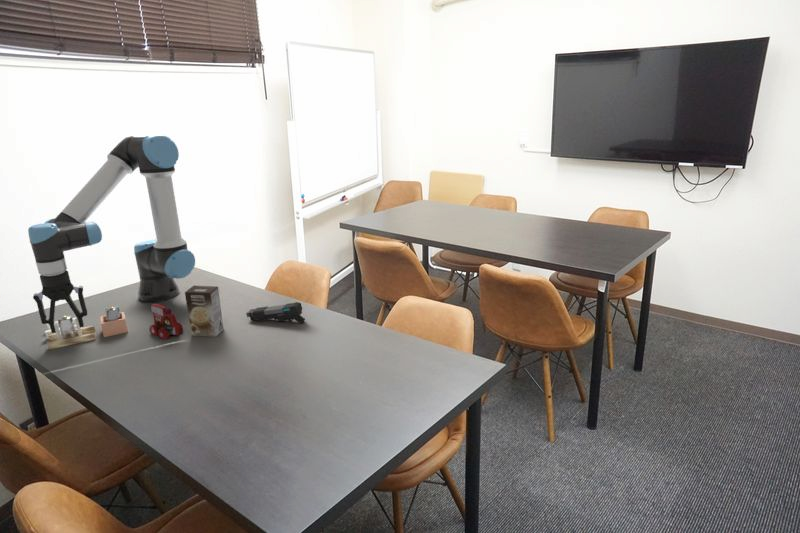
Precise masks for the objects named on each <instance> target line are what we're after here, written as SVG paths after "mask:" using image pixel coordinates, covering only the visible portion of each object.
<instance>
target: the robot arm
mask: <svg viewBox="0 0 800 533" xmlns="http://www.w3.org/2000/svg"><path fill="white" fill-rule="evenodd" d="M179 156H180V154H179V149H178V146H177V144H176V143H175V141H173V140H172V139H171V138H170V137H169V136H167V135H165V134H161V133H140V132H139V133H136V132H135V133H131V134H129V135H127V136H126V137H124V138H123V139H122V140H121V141H120V142H119V143H117V145H116V146H115V147H113V149H112V150H111V151H110V152H109V153H108V154H107V155H106V158H107V160H106V162H105V163H103V165H101V167H100V168H99V169H98V170H97V171H96V172H95V173H94V175H92V177H91V178H90V179H89V180H88V182H87V183H86V184H85V185H83V187H82V188H81V189H80V191H78V192H77V193H76V194H75V196H74V197H73V198H72V199H71V200H70V201H69V203H67V205H66V206H65V207H64V208H63V209H62V210H61V211H60V212H59V214H57V215H56V217H55V218H50V219H48V220H45V222H43V223H37V224H33V225H31V226H30V227H28V230H27V231H28V232H27V233H28V238H29V243H30V246H31V248H32V249H31V250H32V252H33V256H34V260H35V264H36V267H37V268H36V269H37V271H38V274H39V281H40V282H41V287H42V289H41V291H40V292H38V293H37V292H36V293H33V296H32V298H33V300H34V301H35V303H36V306H37V309H38V313H39V316H40V322H41V324H43V325H45V324H46V325H47V324H49V325H50V328H51V332H52V333H56V335H57V338H58V341H59V340H62V338H61V334H60V330H59V327H58V323H57V321H58V320H55V313H56V312H55V310H56V302H59V301H65V302H66V303H67V304H68V306H69V308H70V309H71V310H72V312H73V314H74V315H75V317H74V318H75V322H76V326H77V330H78V334H79V336H82V331H81V327H82V328H84V327H85V325H84V319H83V318H84V317H86V316H88V309H87V305H86V301H85V299H84V298H85V297H84V294H83V292H84V286H82V285H79V286H76V285H74V284H72V281H71V278H70V274H69V271H68V265H67V263H66V262H67V261H66V257H65V253H64V252H67V251H70V250H75V249H79V248H85V247H91V246H94V245H97V244H99V243H100V242H101V241H102V240H103V234H102V230H101V227H100V226H99V224H97V223H96V222H95V221H87V220H89V218H90V217H91V216H92V215H93V213H94V212H96V210H97V209H98V208H99V207H100V205H102V203H103V202H104V201H105V200H106V199H107V197H109V195H110V194H111V193H112V192H113V190H114V189H116V187H117V186H118V185H119V184H120V183H121V182H122V180H123V179H124V178H126V176H127V175H131V174H133V173H134V172H135V170H136V169H138V168H139V170H138V171H139V173H140V175H142V176H143V177H145V180H146V188H147V192H148V193H147V194H148V197H149V203H150V208H151V209H150V210H151V215H152V220H153V226H154V231H155V236H156V237H155V238H156V239H151V240H149V239H148V240H145V241H141V242H138V243H136V244H135V245H134V247H133V249H134V250H133V251H134V253H133V254H134V255H135V256H134V257H135V261H136V266H137V270H138V271H137V272H138V275H139V285H138V292H137V296H138V300H140V301H141V302H149V303H150V302H159V301H164V300H165V301H166V300H169V299H171V298H173V297H174V298H175V297H176V296H177V295H178V294H180V289H179V286H178V284H177V283H176V281H175V279H177V280H178V279H184V278H186V277H187V276H189V275H190V274H192V271H193V270H194V268H195V265H196V258H195V255H194V253H193V252H192V251H191V250H189V249H188V243H187V240H185V239H184V238H182V234H181V227H180V222H179V215H178V209H177V202H176V196H175V189H174V184H173V178H172V175H173V174H174V173H175V171H176V170H175V165H176V164H177V162H178V160H179ZM73 291H74V292H75V294H77V298H78V301H79V305H80V308H81V311H80V310H79V308H78V306H77V305H76V303H75V302H74V300H73V298H72V296H71V294H72V292H73ZM44 296H45V297H46V298H47V299H49V300H50V301H49V304H50V306H49V316H48V318H47V315H46V310H45V306H44V302H43V298H44Z"/></svg>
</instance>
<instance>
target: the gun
mask: <svg viewBox="0 0 800 533" xmlns="http://www.w3.org/2000/svg"><path fill="white" fill-rule="evenodd" d="M302 311H303V306H302V303H301V302H300V301H298V302H297V301H295V302H291V303H286V304H280V305H273V306H268V305H267V306H261V307H256V308H250V309H249V310H248V311H247V312H246V313H245V314H246V318H249V319H250V321H252V322H253V321H256V320H257V321H259V322H262V321H268V320H274V321H278V322H283V321H284V322H285V321H288V322H289V323H291V322H294V321H296V322H297V323H299V324H300V325H301V324H304V322H305V320H306V318H305V317H303V316H301V314H303V312H302Z"/></svg>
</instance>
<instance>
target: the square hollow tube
mask: <svg viewBox="0 0 800 533" xmlns="http://www.w3.org/2000/svg"><path fill="white" fill-rule="evenodd" d="M119 313H120V319H118V320H113V321H109V322H107V318H106V314H104V315H101V316H100V317H99V318H100V326H101V330H102V335H103V338H107V337H112V336H116V335H121V334H122V335H123V334H125V333H126V334H127V333H128V332H129V330H128V325H127V320H126V316H125V312H124V311H122V312H120V311H119Z"/></svg>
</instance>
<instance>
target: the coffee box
mask: <svg viewBox="0 0 800 533" xmlns="http://www.w3.org/2000/svg"><path fill="white" fill-rule="evenodd" d="M219 290H220V289H219V286H211V285H192V286H191V287H190V288H188V289H187V290H186V291H185V292H184V295H185V302H186V308H187V314H188V320H189V328H190V333H191V334H190V335H191V336H194V337H215V338H216V337H217V336H218V335H219V334H221V332H222V331H223V330H224V322H223V314H222V306H221V300H220V299H221V298H220V292H219Z"/></svg>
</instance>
